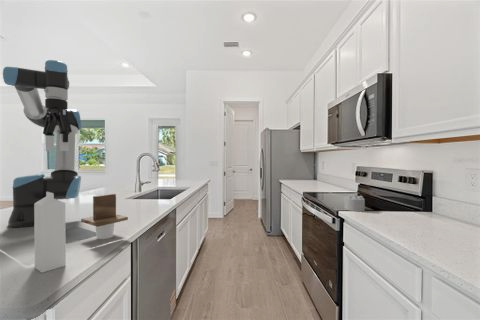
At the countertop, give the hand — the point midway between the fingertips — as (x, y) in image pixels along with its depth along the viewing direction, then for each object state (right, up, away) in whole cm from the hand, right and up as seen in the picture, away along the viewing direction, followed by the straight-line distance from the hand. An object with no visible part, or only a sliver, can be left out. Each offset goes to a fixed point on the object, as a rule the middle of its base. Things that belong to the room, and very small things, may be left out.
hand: (56, 150), depth 105 cm
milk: (+20, -36, -31) cm, 51 cm away
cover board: (+23, -28, -5) cm, 36 cm away
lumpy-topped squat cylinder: (+148, -35, +53) cm, 162 cm away
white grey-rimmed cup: (+23, -35, -5) cm, 42 cm away
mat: (+8, -35, -2) cm, 36 cm away
